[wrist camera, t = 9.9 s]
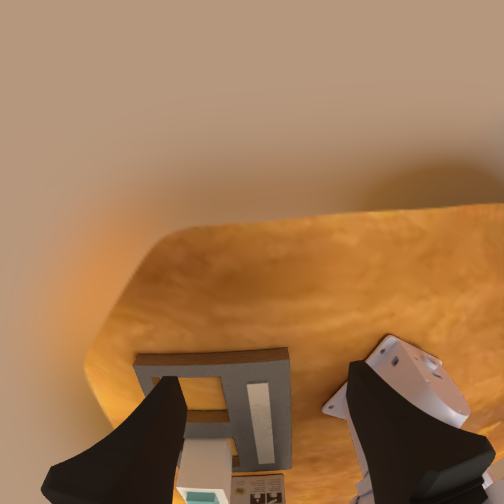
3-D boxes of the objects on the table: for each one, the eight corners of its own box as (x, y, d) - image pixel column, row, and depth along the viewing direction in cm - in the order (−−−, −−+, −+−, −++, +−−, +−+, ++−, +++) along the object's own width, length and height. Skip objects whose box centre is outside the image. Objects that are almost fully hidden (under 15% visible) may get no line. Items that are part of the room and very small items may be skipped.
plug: (186, 429, 27) (174, 496, 19) (226, 429, 27) (222, 498, 19) (195, 451, 28) (186, 512, 21) (232, 451, 28) (229, 514, 20)
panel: (138, 354, 24) (132, 366, 22) (287, 347, 23) (289, 361, 22) (182, 460, 29) (180, 472, 27) (290, 458, 28) (291, 470, 27)
